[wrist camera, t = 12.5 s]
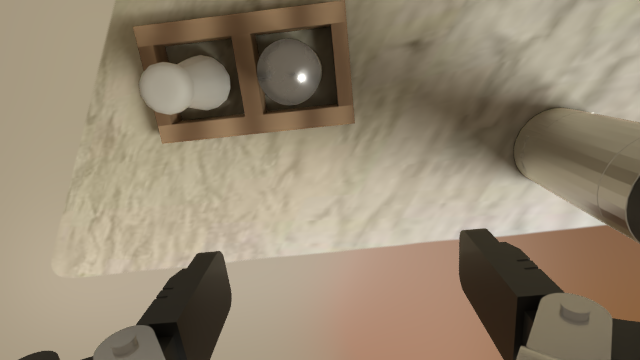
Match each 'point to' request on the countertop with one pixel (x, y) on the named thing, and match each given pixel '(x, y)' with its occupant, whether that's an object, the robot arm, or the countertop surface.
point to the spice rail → (252, 69)
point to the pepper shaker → (289, 71)
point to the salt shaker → (185, 85)
